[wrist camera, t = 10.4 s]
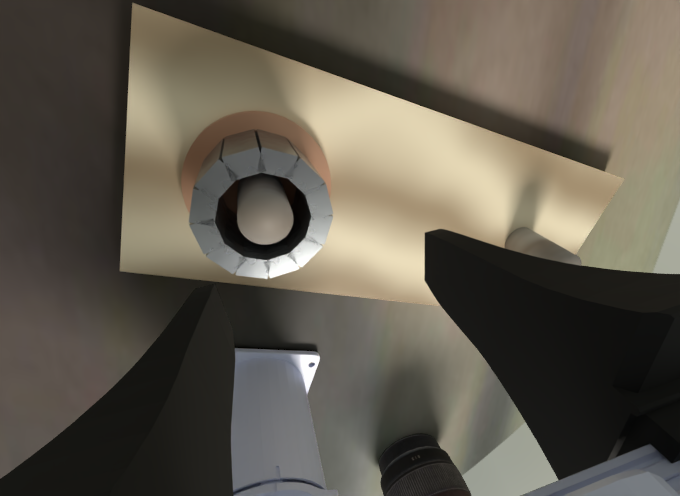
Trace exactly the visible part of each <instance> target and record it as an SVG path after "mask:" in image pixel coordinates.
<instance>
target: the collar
mask: <svg viewBox="0 0 680 496" xmlns="http://www.w3.org/2000/svg"><path fill="white" fill-rule="evenodd" d="M258 173H266V174H270V175H275V176H279V177H284V178H288V179H289V180H290V181H291V182H292V183H293V184H294V185H295V186H296V187H297V189H296V192H295V196H294V200H293V204H292V205H291V206H290V207H291V210H292V213H293V225H292V228H291V230H290V232H289V233H288V234H287V236H286V237H284V238H283V239H282V240H280V241H278V242H276V243H273V244H265V245H264V244H257V243H254V242H252V241H250V240H248V239H247V238H246V237H245V236H244V235H243V234H242V233H241V231H240V229H239V227H238V223H237V214H236V213H234V212H233V211H232V210H230V209H229V208H228V207H227V205H226V203H225V201H224V198H223V196H222V194H223V193H224V192H225V191H226V190H227V189H228V188H229V187H230V186H231V185H232V184H233V183H234V182H235V181H236V180H238V179H241V178H245V177H248V176H252V175H255V174H258ZM332 214H333V210H332V206H331V202H330V198H329V194H328V190H327V186H326V183H325V181H324V180H323V179H322V177H321V176H320V175H319V173H318V172H317V170H316V169H315V168H314V166H313V165H312V164H311V162H310V161H309V160H308V158H307V157H306V156H305V155H304V154H303V153H302V152H301V151H300V150H299V149H298V148H297V147H296V146H295V145H294V144H293V143H292V142H291V141H290V140H289V139H288V138H287V139H286V137H285V136H281V135H278V134H274V133H270V132H267V131H263V130H259V129H257V130H256V134H255V131H254V129H251V130H248V131H244V132H240V133H237V134H233V135H229V136H226V137H225V139H224V138H223V139H222V140H221V141H220V142H219V143H218V144H217V145H216V146H215V148H214V149H213V150H212V151H211V152H210V153H209V154H208V155H207V156H206V158H205V159H204V161H203V163H202V165H201V168H200V171H199V174H198V176H197V179H196V182H195V185H194V187H193V192H192V200H191V207H190V215H189V223H190V224H189V226H190V228H191V230H192V232H193V234H194V236H195V238H196V240H197V242H198V244H199V246H200V248H201V250H202V252H203V254H206V257H207V258H209V259H210V260H212V261H213V262H215V263H216V264H218V265H219V266H221V267H222V268H224V269H226V270H227V271H229V272H230V273H232V274H233V273H234V272H235V271H236V275H238V276H247V277H255V278H264V279H267V278H268V275H269V277H270V278H273V277H276V276H279V275H283V274H286V273H289V272H292V271H295V270H298V269H299V266H300V267H303V266H304V265H305V264H306V263H307V262H308V261H309V260H310V259H311V258H312V257H313V256H314V255H315V254H316V253H317V252H318V251H319V250H320V249H321V248H322V247H323V245H322V244H324V245H325V242H326V238H327V235H328V232H329V229H330V226H331V222H332V219H333V215H332ZM298 265H299V266H298Z"/></svg>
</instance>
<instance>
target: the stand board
mask: <svg viewBox="0 0 680 496" xmlns="http://www.w3.org/2000/svg"><path fill="white" fill-rule="evenodd" d="M251 129H254V131H255V134H256V130H257V129H259V130H263V131H267V132H270V133H274V134H278V135H281V136H285V137H286V139H287V138H288V139H289V140H290V141H291V142H292V143H293V144H294V145H295V146H296V147H297V148H298V149H299V150H300V151H301V152H302V153H303V154H304V155H305V156H306V157H307V158H308V160H309V161H310V162H311V164H312V165H313V166H314V168H315V169H316V170H317V172H318V173H319V175H320V176H321V177H322V179H323V180H324V181H325V183H326V186H327V190H328V194H329V198H330V202H331V206H332V210H333V214H332V215H333V219H332V222H331V226H330V229H329V232H328V235H327V238H326V242H325V245H324V244H322V245H323V247H322V248H321V249H320V250H319V251H318V252H317V253H316V254H315V255H314V256H313V257H312V258H311V259H310V260H309V261H308V262H307V263H306V264H305V265H304V266H303V267H300V266H299V265H298V266H299V269H298V270H295V271H292V272H289V273H286V274H283V275H279V276H276V277H273V278H270V277H269V275H268V278H267V279H264V278H255V277H247V276H238V275H236V271H235V272H234V273H233V274H232V273H230V272H229V271H227V270H226V269H224V268H222V267H221V266H219V265H218V264H216V263H215V262H213V261H212V260H210V259H209V258H207V257H206V254H203V252H202V250H201V248H200V246H199V244H198V242H197V240H196V238H195V236H194V234H193V232H192V230H191V228H190V226H189V224H190V223H189V215H190V207H191V200H192V192H193V187H194V185H195V182H196V179H197V176H198V174H199V171H200V168H201V165H202V163H203V161H204V159H205V158H206V156H207V155H208V154H209V153H210V152H211V151H212V150H213V149H214V148H215V146H216V145H217V144H218V143H219V142H220V141H221V140H222V139H223V138H224V139H225V137H226V136H229V135H233V134H237V133H240V132H244V131H248V130H251ZM623 180H624V178H621V177H618V176H615V175H612V174H610V173H607V172H604V171H601V170H598V169H596V168H593V167H590V166H587V165H584V164H582V163H579V162H576V161H573V160H570V159H568V158H565V157H562V156H559V155H557V154H554V153H551V152H548V151H545V150H543V149H540V148H537V147H534V146H531V145H529V144H526V143H523V142H520V141H517V140H515V139H512V138H509V137H506V136H503V135H501V134H498V133H495V132H492V131H489V130H487V129H484V128H481V127H478V126H476V125H473V124H470V123H467V122H464V121H462V120H459V119H456V118H453V117H450V116H448V115H445V114H442V113H439V112H436V111H434V110H431V109H428V108H425V107H422V106H420V105H417V104H414V103H411V102H408V101H406V100H403V99H400V98H397V97H395V96H392V95H389V94H386V93H383V92H381V91H378V90H375V89H372V88H369V87H367V86H364V85H361V84H358V83H355V82H353V81H350V80H347V79H344V78H341V77H339V76H336V75H333V74H330V73H327V72H325V71H322V70H319V69H316V68H314V67H311V66H308V65H305V64H302V63H300V62H297V61H294V60H291V59H288V58H286V57H283V56H280V55H277V54H274V53H272V52H269V51H266V50H263V49H260V48H258V47H255V46H252V45H249V44H247V43H244V42H241V41H238V40H235V39H233V38H230V37H227V36H224V35H221V34H219V33H216V32H213V31H210V30H207V29H205V28H202V27H199V26H196V25H193V24H191V23H188V22H185V21H182V20H179V19H177V18H174V17H171V16H168V15H166V14H163V13H160V12H157V11H154V10H152V9H149V8H146V7H143V6H140V5H138V4H135V3H132V21H131V42H130V63H129V84H128V105H127V127H126V148H125V169H124V190H123V211H122V232H121V254H120V271H122V272H131V273H140V274H150V275H159V276H168V277H177V278H187V279H196V280H205V281H214V282H224V283H233V284H242V285H251V286H261V287H270V288H279V289H288V290H298V291H307V292H316V293H325V294H335V295H344V296H353V297H362V298H372V299H381V300H390V301H399V302H408V303H418V304H427V305H436V306H441V305H440V304H439V303H438V301H437V300H436V298H435V297H434V295H433V294H432V292H431V290H430V289H429V287H428V285H427V284H426V282H425V280H424V275H425V232H429V231H433V230H437V229H445V230H449V231H452V232H456V233H459V234H462V235H465V236H468V237H471V238H474V239H477V240H480V241H483V242H486V243H489V244H493V245H496V246H499V247H502V248H506V249H509V250H512V251H516V252H520V253H524V254H527V255H531V256H535V257H539V258H544V259H549V260H554V261H558V262H563V263H569V264H575V265H581V259H580V257H578V256H577V255H576V253H577V251H578V250H579V248H580V247H581V245H582V244H583V242H584V241H585V239H586V238H587V236H588V234H589V233H590V231H591V230H592V228H593V227H594V225H595V224H596V222H597V221H598V219H599V217H600V216H601V214H602V213H603V211H604V210H605V208H606V207H607V205H608V204H609V202H610V201H611V199H612V197H613V196H614V194H615V193H616V191H617V190H618V188H619V187H620V185H621V184H622V182H623ZM296 189H297V187H296V186H295V185H294V184H293V183H292V182H291V181H290V180H289V179H288V178H284V177H279V176H275V175H270V174H266V173H258V174H255V175H252V176H248V177H245V178H241V179H238V180H236V181H235V182H234V183H233V184H232V185H231V186H230V187H229V188H228V189H227V190H226V191H225V192H224V193H223V194H222V196H223V198H224V201H225V203H226V205H227V207H228V208H229V209H230V210H232V211H233V212H234V213H236V214H237V223H238V227H239V229H240V231H241V233H242V234H243V235H244V236H245V237H246V238H247V239H248V240H250V241H252V242H254V243H257V244H264V245H265V244H273V243H276V242H278V241H280V240H282V239H283V238H284V237H286V236H287V234H288V233H289V232H290V230H291V228H292V225H293V213H292V210H291V207H290V206H291V205H292V204H293V200H294V196H295V192H296Z"/></svg>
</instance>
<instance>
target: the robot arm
mask: <svg viewBox="0 0 680 496" xmlns="http://www.w3.org/2000/svg"><path fill="white" fill-rule="evenodd" d="M424 280H425V282H426V284H427V285H428V287H429V289H430V290H431V292H432V294H433V295H434V297H435V298H436V300H437V301H438V303H439V304H440V305H441V306H442V308H443V309H444V310H445V311H446V313H447V314H448V315H449V316H450V317H451V319H452V320H453V321H454V322H455V323H456V324H457V326H458V327H459V328H460V329H461V330H462V332H463V333H464V334H465V335H466V336H467V337H468V339H469V340H470V341H471V342H472V343H473V345H474V346H475V347H476V348H477V349H478V351H479V352H480V353H481V355H482V356H483V357H484V358H485V360H486V361H487V363H488V364H489V366H490V367H491V369H492V370H493V372H494V373H495V374H496V376H497V377H498V379H499V380H500V382H501V383H502V385H503V386H504V388H505V390H506V391H507V393H508V394H509V396H510V397H511V399H512V401H513V402H514V404H515V405H516V407H517V408H518V410H519V412H520V413H521V415H522V417H523V418H524V420H525V422H526V423H527V425H528V427H529V428H530V430H531V432H532V433H533V435H534V437H535V438H536V440H537V442H538V443H539V445H540V447H541V449H542V451H543V452H544V454H545V456H546V458H547V460H548V461H549V463H550V465H551V467H552V469H553V470H554V472H555V474H556V476H557V478H558V481H556V482H553V483H551V484H548V485H546V486H544V487H541V488H538V489H536V490H533V491H531V492H529V493H526V494H524V495H521V496H680V274H657V273H643V272H630V271H620V270H610V269H602V268H595V267H588V266H581V265H575V264H569V263H563V262H558V261H554V260H549V259H544V258H539V257H535V256H531V255H527V254H524V253H520V252H516V251H512V250H509V249H506V248H502V247H499V246H496V245H493V244H489V243H486V242H483V241H480V240H477V239H474V238H471V237H468V236H465V235H462V234H459V233H456V232H452V231H449V230H445V229H437V230H433V231H429V232H425V275H424ZM319 360H320V356H319V354H318V353H317V352H315V351H292V350H269V349H245V348H235V346H234V333H233V329H232V327H231V324H230V322H229V319H228V316H227V314H226V311H225V309H224V306H223V303H222V301H221V298H220V295H219V293H218V290H217V288H216V285H215V284H213V285H208V286H204V287H200V288H196V289H195V290H194V291H193V292H192V294H191V295H190V296H189V298H188V299H187V300H186V302H185V303H184V304H183V306H182V307H181V309H180V310H179V311H178V313H177V314H176V315H175V317H174V318H173V319H172V321H171V322H170V323H169V325H168V326H167V327H166V329H165V330H164V331H163V332H162V334H161V335H160V336H159V337H158V338H157V340H156V341H155V342H154V343H153V344H152V346H151V347H150V348H149V349H148V350H147V351H146V353H145V354H144V355H143V356H142V357H141V359H140V360H139V361H138V362H137V363H136V364H135V365H134V366H133V367H132V368H131V369H130V370H129V371H128V373H127V374H126V375H125V376H124V377H123V378H122V379H121V380H120V381H119V382H118V383H117V384H116V385H115V386H114V387H113V388H111V389H110V390H109V391H108V392H107V393H106V394H105V395H104V396H103V397H102V398H101V399H100V400H98V401H97V402H96V403H95V404H94V405H93V406H92V407H90V408H89V409H88V410H87V411H86V412H85V413H84V414H83V415H81V416H80V417H79V418H78V419H77V420H76V421H75V422H74V423H72V424H71V425H70V426H69V427H68V428H66V429H65V430H64V431H63V432H61V433H60V434H59V435H58V436H56V437H55V438H54V439H53V440H52V441H50V442H49V443H48V444H46V445H45V446H44V447H43V448H41V449H40V450H39V451H37V452H36V453H35V454H33V455H32V456H31V457H30V458H28V459H27V460H26V461H24V462H23V463H22V464H20V465H19V466H18V467H16V468H15V469H14V470H12V471H11V472H9V473H8V474H7V475H5V476H4V477H2V478H1V479H0V496H339V495H338V490H336V489H332V490H327V488H326V484H325V479H324V474H323V469H322V464H321V460H320V455H319V450H318V445H317V440H316V435H315V431H314V426H313V421H312V416H311V411H310V407H309V402H308V397H307V393H308V391H309V388H310V385H311V382H312V380H313V377H314V374H315V371H316V368H317V366H318V363H319ZM311 362H313V363H311Z"/></svg>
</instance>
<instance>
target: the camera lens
mask: <svg viewBox="0 0 680 496" xmlns="http://www.w3.org/2000/svg"><path fill="white" fill-rule="evenodd" d="M379 468H380V471H381V474H382V478H381V488H382V491H383V494H384V496H471V493H470V491H469V489H468V487H467V485H466V483H465V481H464V479H463V477H462V476H461V474H460V472H459V471H458V469H457V468H456V466H455V465H454V463H453V462H452V460H451V459H450V457H449V455H448V454H447V453H446V452H445V451H444V450H442V449H441V448H440V446H439V444H438V443H437V441H436V440H435V439H434V438H433V437H432V436H429V435H425V434H418V435H412V436H408V437H405V438H403V439H401V440H399V441H397V442H395V443H394V444H392V445H391V446H390V447H389V448H387V449H386V450H385V452H384V453H383V454H382V456H381V458H380V461H379Z"/></svg>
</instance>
